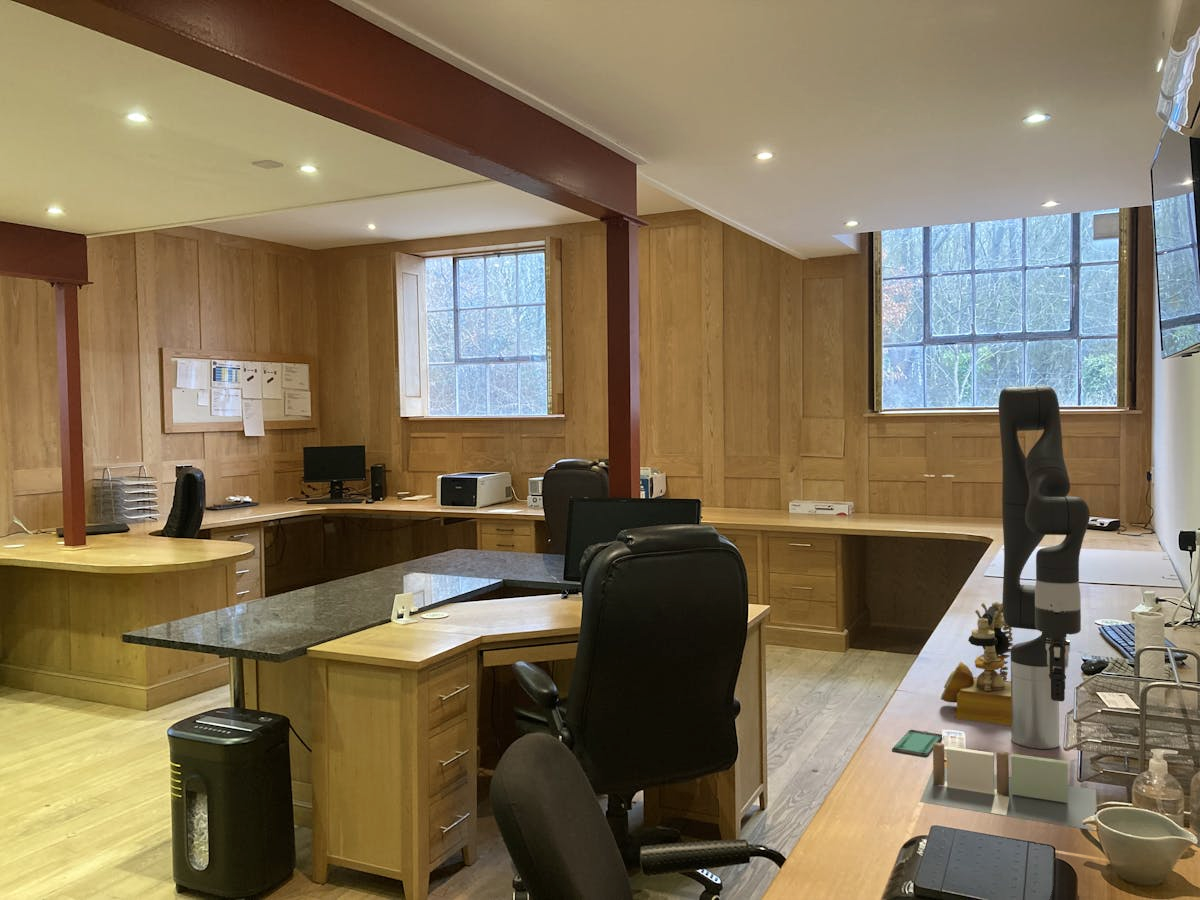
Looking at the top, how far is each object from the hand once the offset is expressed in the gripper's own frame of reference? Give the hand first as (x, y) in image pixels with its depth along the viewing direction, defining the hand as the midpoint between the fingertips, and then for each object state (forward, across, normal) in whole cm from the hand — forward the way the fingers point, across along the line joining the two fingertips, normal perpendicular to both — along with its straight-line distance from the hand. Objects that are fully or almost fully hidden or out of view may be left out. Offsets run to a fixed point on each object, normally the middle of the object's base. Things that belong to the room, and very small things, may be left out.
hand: (1058, 694), depth 168 cm
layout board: (+18, +8, -8) cm, 21 cm away
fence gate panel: (+17, +7, -3) cm, 19 cm away
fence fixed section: (+17, +7, -14) cm, 24 cm away
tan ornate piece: (+18, -48, -17) cm, 54 cm away
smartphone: (+18, -14, -27) cm, 36 cm away
